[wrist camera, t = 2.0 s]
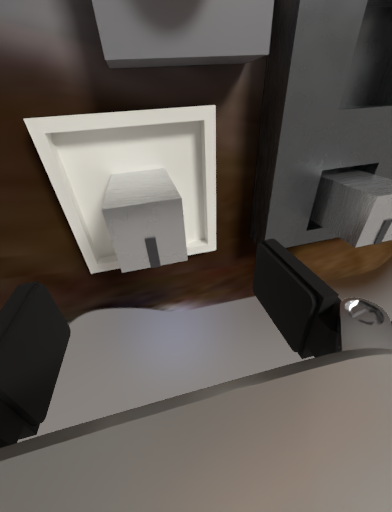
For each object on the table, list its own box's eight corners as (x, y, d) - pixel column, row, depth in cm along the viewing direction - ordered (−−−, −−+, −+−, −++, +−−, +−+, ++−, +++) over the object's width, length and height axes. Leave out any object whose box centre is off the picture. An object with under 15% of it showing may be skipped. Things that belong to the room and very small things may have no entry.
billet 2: (307, 171, 20) (378, 197, 14) (345, 166, 21) (427, 189, 15) (298, 213, 22) (355, 249, 17) (331, 207, 23) (397, 240, 17)
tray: (32, 117, 14) (23, 118, 12) (209, 105, 16) (215, 104, 14) (93, 263, 20) (90, 273, 19) (211, 242, 22) (216, 250, 21)
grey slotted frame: (275, -29, 13) (308, -61, 10) (458, -22, 15) (520, -47, 13) (249, 237, 23) (263, 252, 21) (360, 216, 25) (384, 228, 23)
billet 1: (111, 174, 16) (101, 210, 10) (164, 168, 17) (182, 198, 11) (125, 224, 19) (122, 275, 13) (171, 217, 19) (188, 263, 14)
